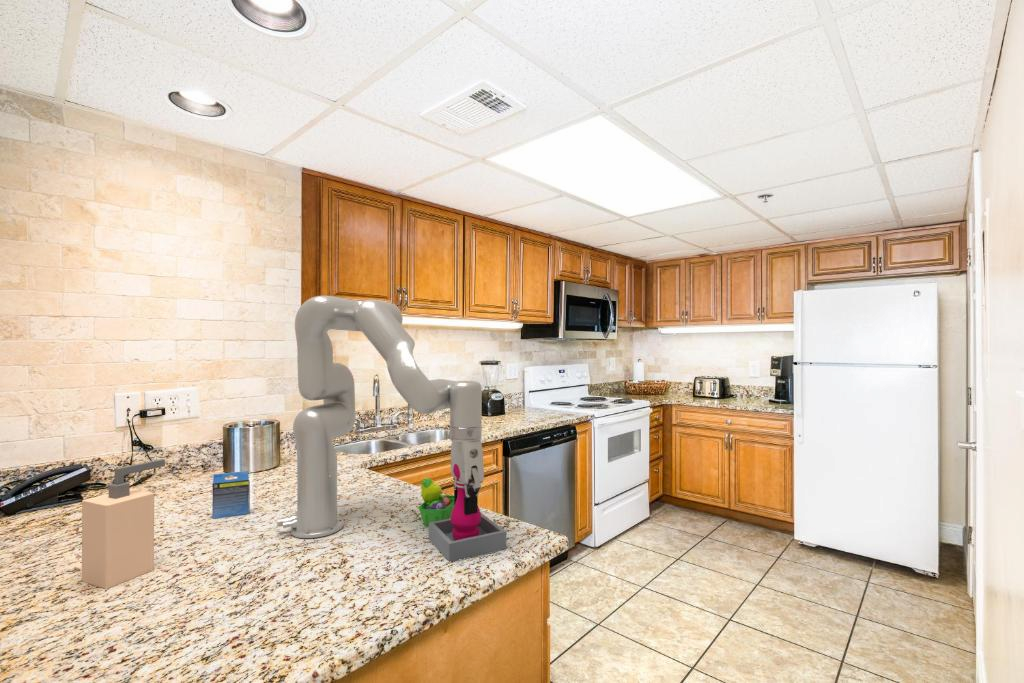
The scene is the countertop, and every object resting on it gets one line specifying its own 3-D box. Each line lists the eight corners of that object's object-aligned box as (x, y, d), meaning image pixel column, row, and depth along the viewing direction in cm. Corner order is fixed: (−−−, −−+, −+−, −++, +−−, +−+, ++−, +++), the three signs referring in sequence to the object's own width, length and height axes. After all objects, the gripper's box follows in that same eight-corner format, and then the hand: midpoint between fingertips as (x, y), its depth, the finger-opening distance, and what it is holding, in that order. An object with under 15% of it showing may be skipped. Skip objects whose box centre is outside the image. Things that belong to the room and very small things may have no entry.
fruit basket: (445, 529, 119) (445, 485, 119) (413, 527, 121) (412, 483, 121) (459, 514, 130) (459, 473, 131) (429, 512, 132) (429, 472, 132)
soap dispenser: (106, 589, 90) (106, 475, 91) (81, 581, 94) (81, 471, 94) (175, 561, 102) (175, 460, 102) (150, 554, 105) (151, 457, 106)
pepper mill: (451, 531, 114) (451, 449, 114) (480, 530, 114) (480, 448, 115) (449, 543, 107) (449, 455, 107) (481, 542, 107) (481, 455, 107)
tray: (449, 562, 101) (449, 543, 101) (428, 539, 113) (428, 522, 113) (506, 548, 108) (506, 531, 108) (481, 528, 120) (480, 512, 120)
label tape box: (250, 510, 134) (250, 467, 134) (249, 514, 131) (249, 470, 131) (214, 515, 130) (214, 470, 131) (211, 519, 127) (212, 474, 127)
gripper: (496, 437, 105) (495, 518, 105) (466, 426, 120) (466, 496, 120) (465, 441, 101) (464, 524, 101) (438, 428, 117) (438, 501, 116)
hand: (465, 508), depth 111 cm, fingers closed on pepper mill, 5 cm apart
